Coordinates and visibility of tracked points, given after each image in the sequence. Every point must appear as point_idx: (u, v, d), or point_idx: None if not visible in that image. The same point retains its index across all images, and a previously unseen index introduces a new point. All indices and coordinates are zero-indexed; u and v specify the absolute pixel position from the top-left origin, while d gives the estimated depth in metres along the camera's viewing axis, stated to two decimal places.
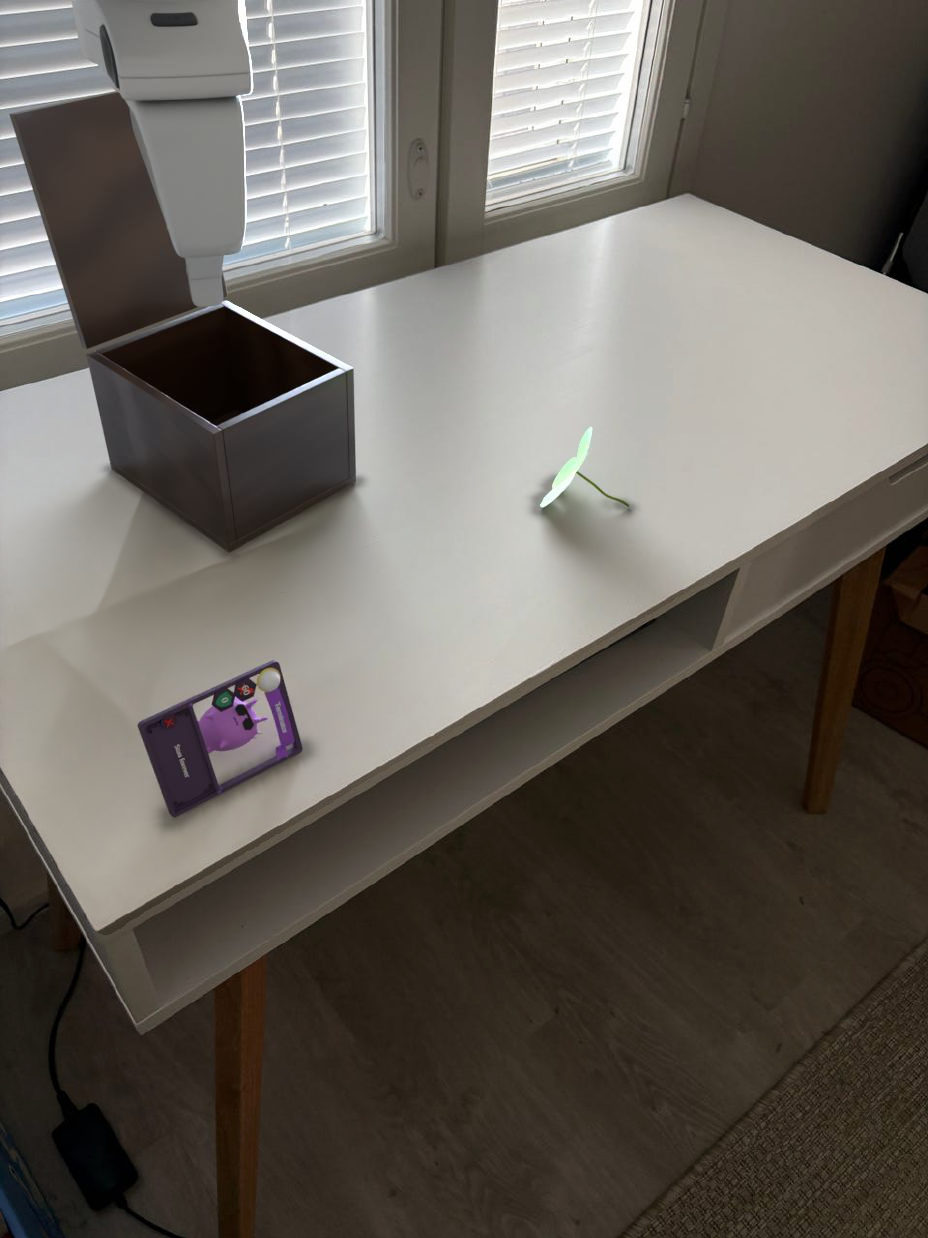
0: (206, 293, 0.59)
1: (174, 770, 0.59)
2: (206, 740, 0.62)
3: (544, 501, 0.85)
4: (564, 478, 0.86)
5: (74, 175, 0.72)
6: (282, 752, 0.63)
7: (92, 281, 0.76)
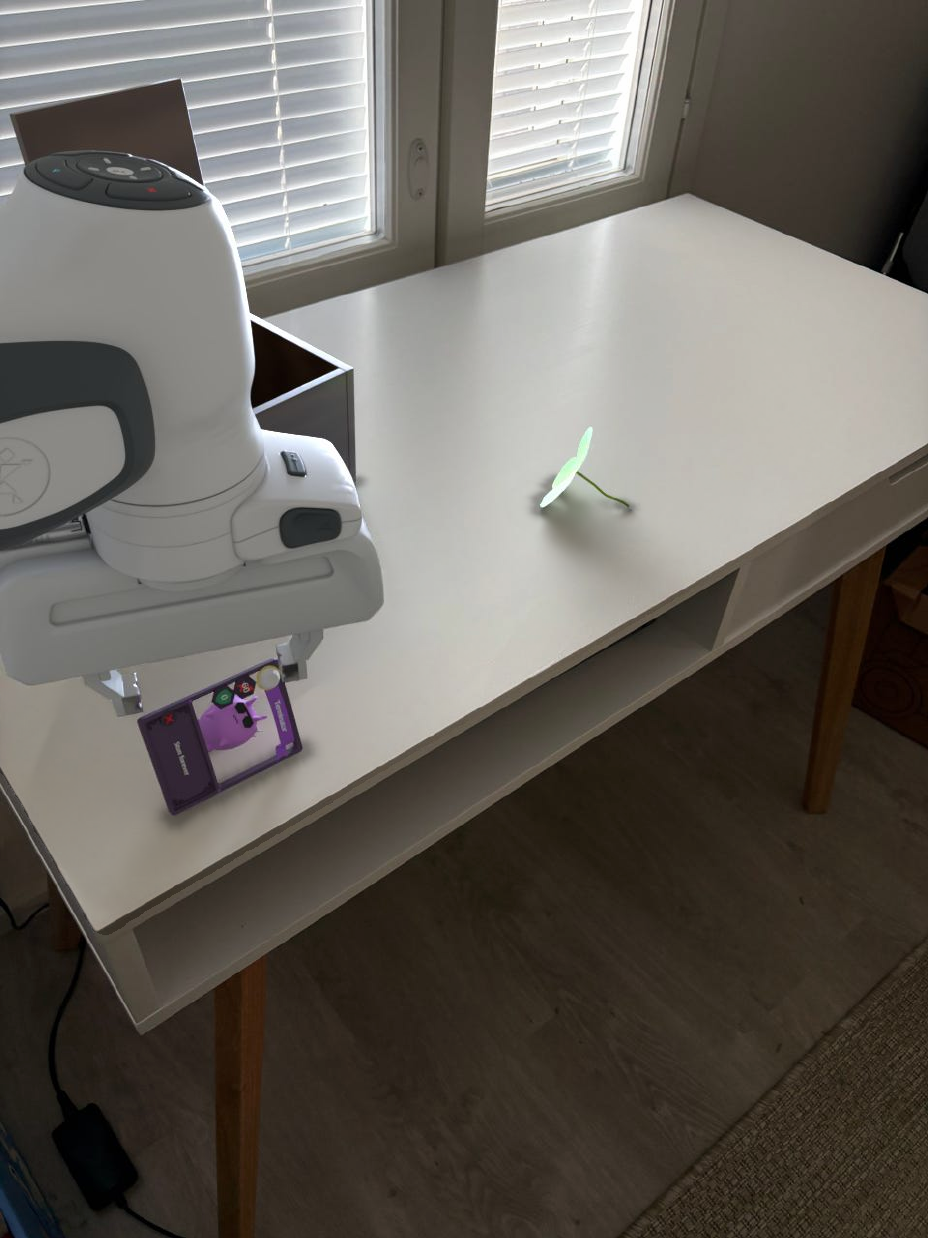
0: None
1: (174, 768, 0.59)
2: (206, 739, 0.62)
3: (544, 501, 0.85)
4: (564, 478, 0.86)
5: None
6: (282, 751, 0.63)
7: None
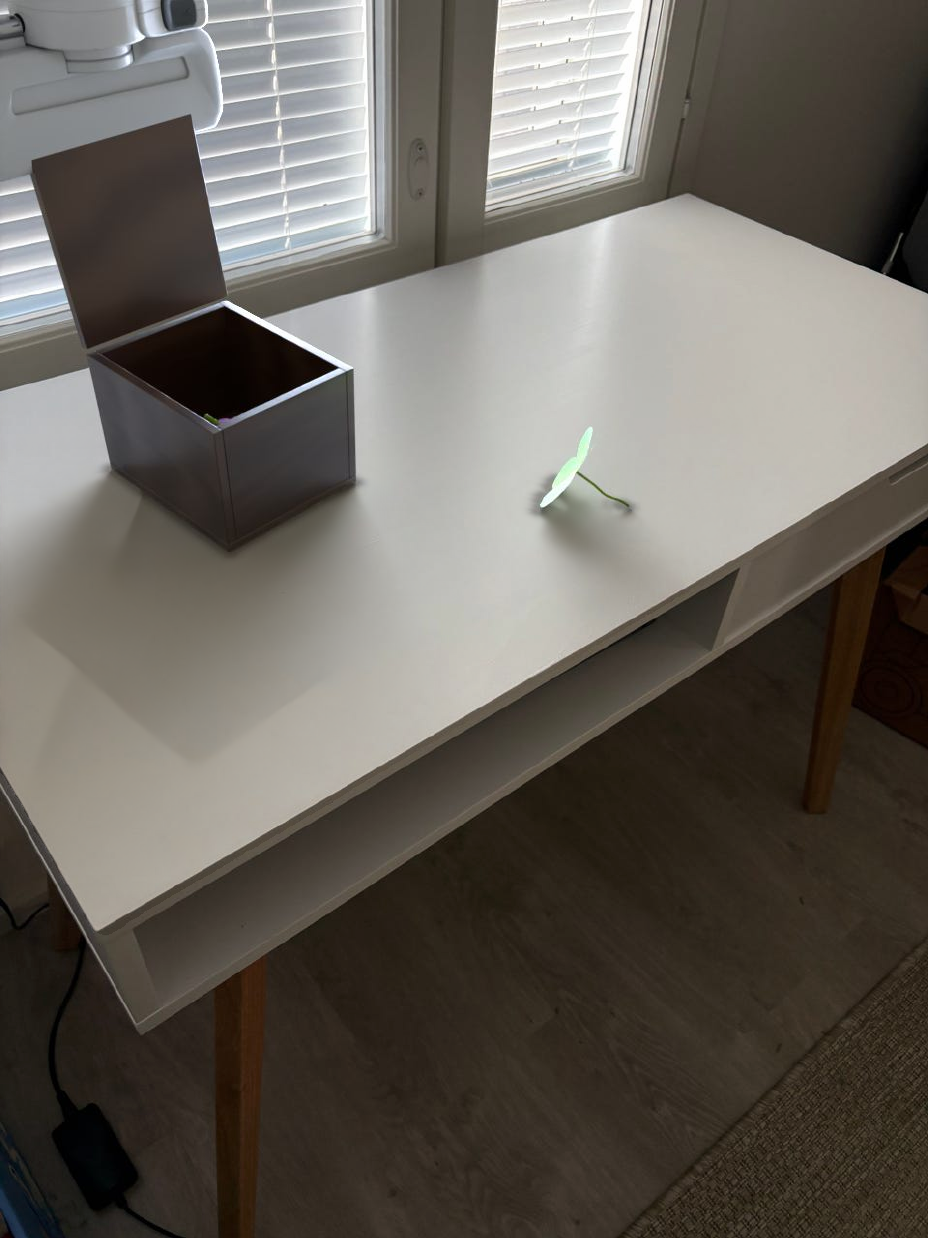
0: None
1: None
2: None
3: (544, 501, 0.85)
4: (564, 478, 0.86)
5: (76, 175, 0.72)
6: None
7: (93, 281, 0.76)
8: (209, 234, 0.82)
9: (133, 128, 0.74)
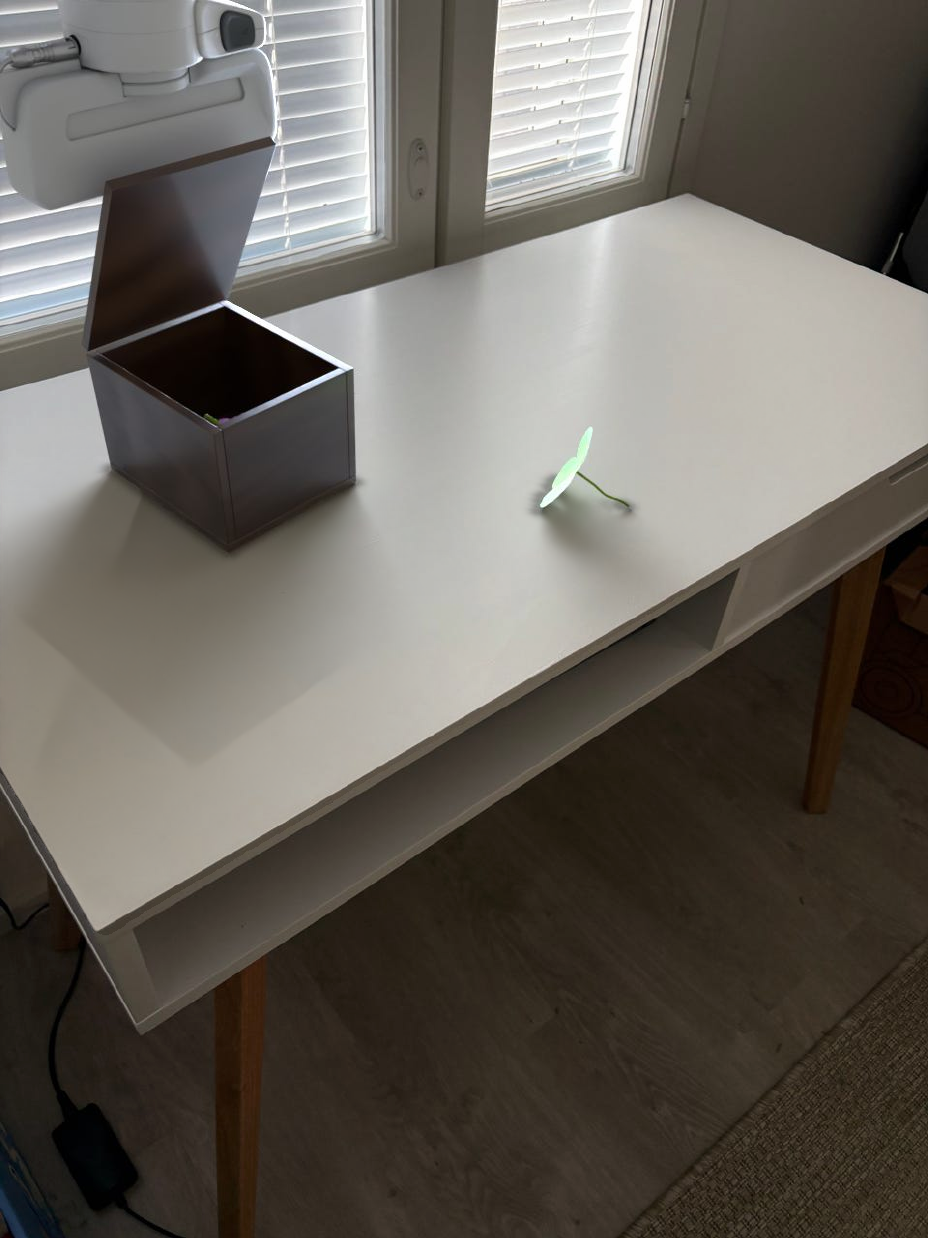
0: None
1: None
2: None
3: (544, 501, 0.85)
4: (564, 478, 0.86)
5: (142, 228, 0.70)
6: None
7: (117, 304, 0.75)
8: (236, 257, 0.81)
9: (187, 152, 0.71)
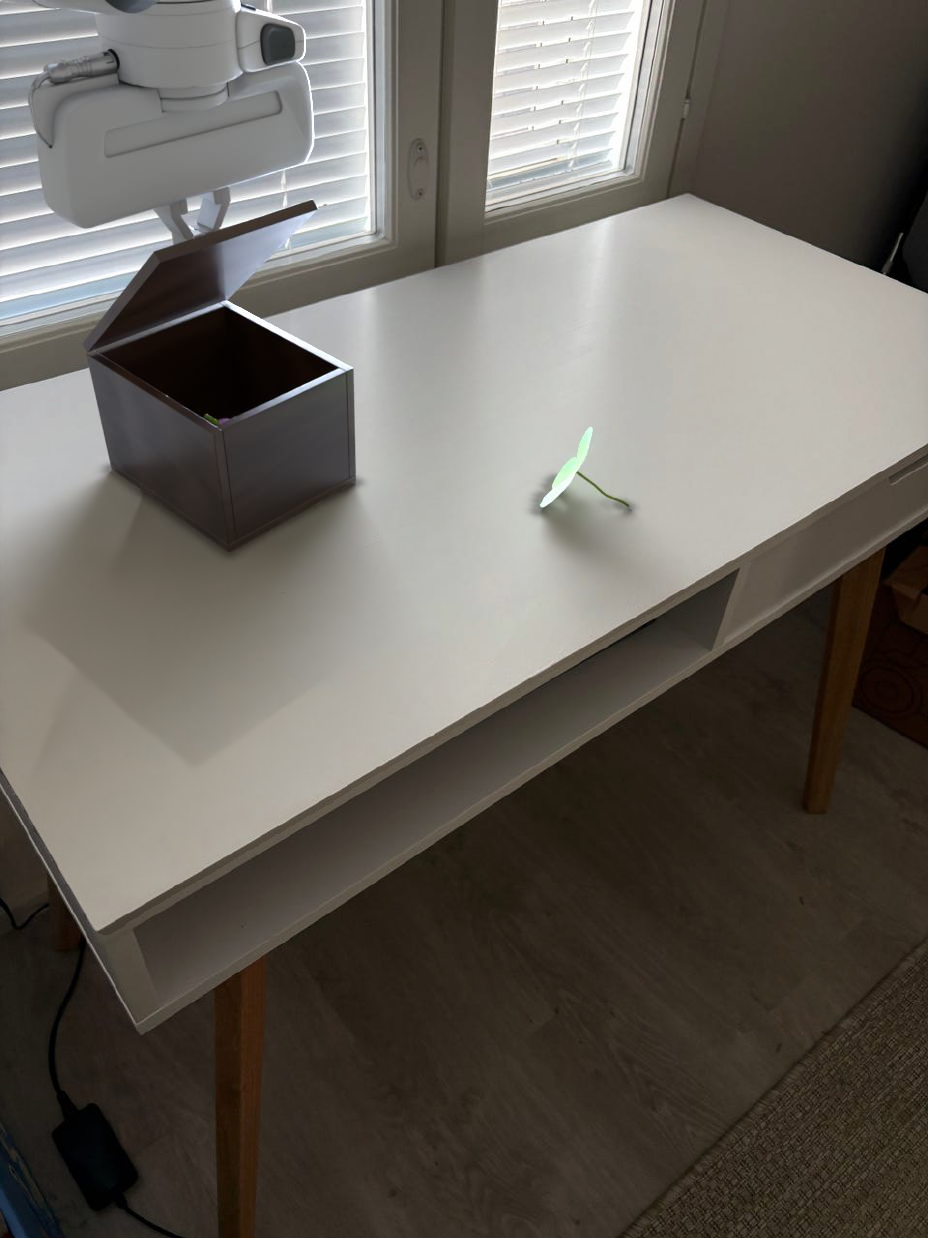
0: None
1: None
2: None
3: (544, 501, 0.85)
4: (564, 478, 0.86)
5: (173, 277, 0.70)
6: None
7: (128, 322, 0.75)
8: (247, 276, 0.81)
9: (224, 167, 0.69)
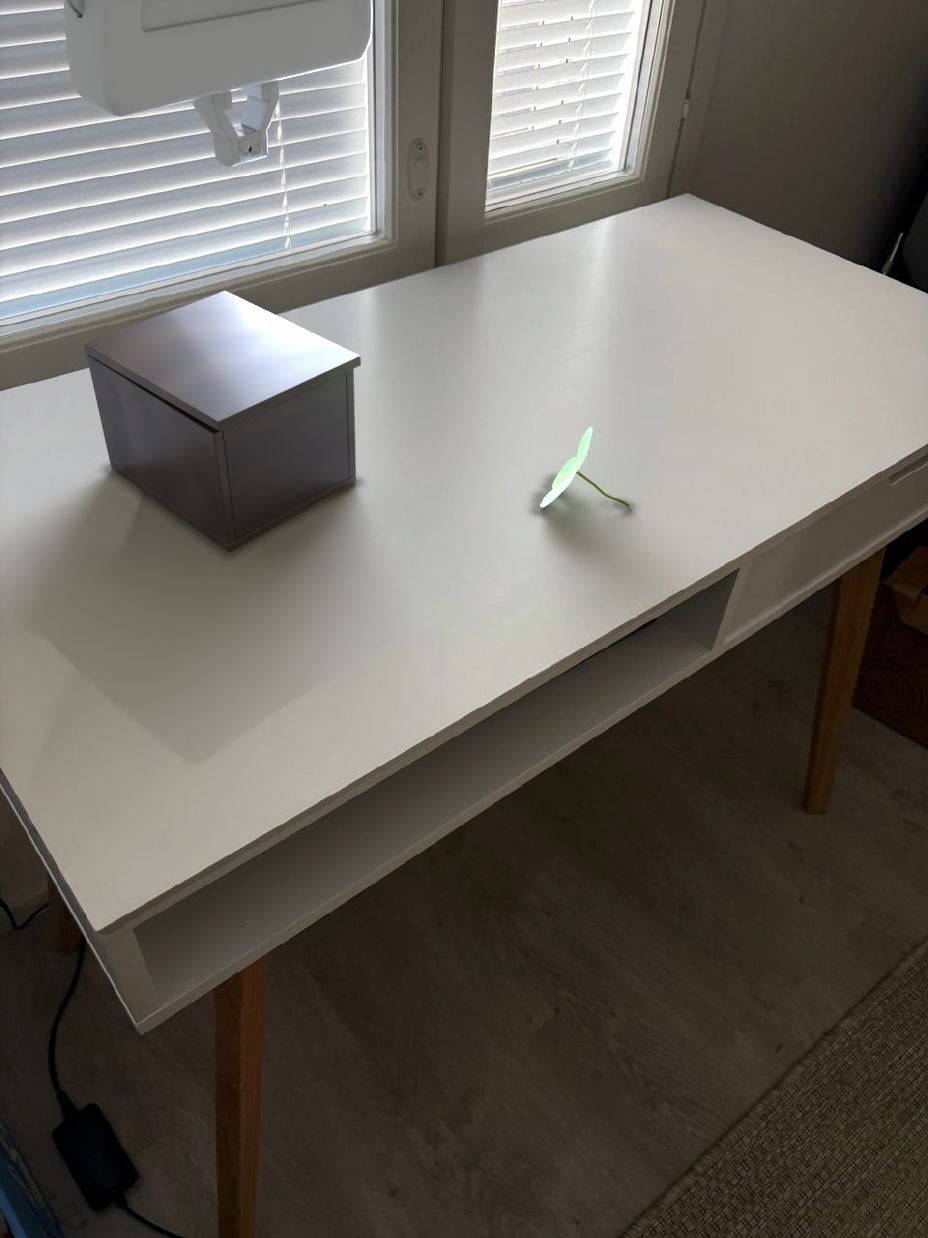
0: None
1: None
2: None
3: (544, 501, 0.85)
4: (564, 478, 0.86)
5: None
6: None
7: None
8: None
9: (274, 56, 0.61)
